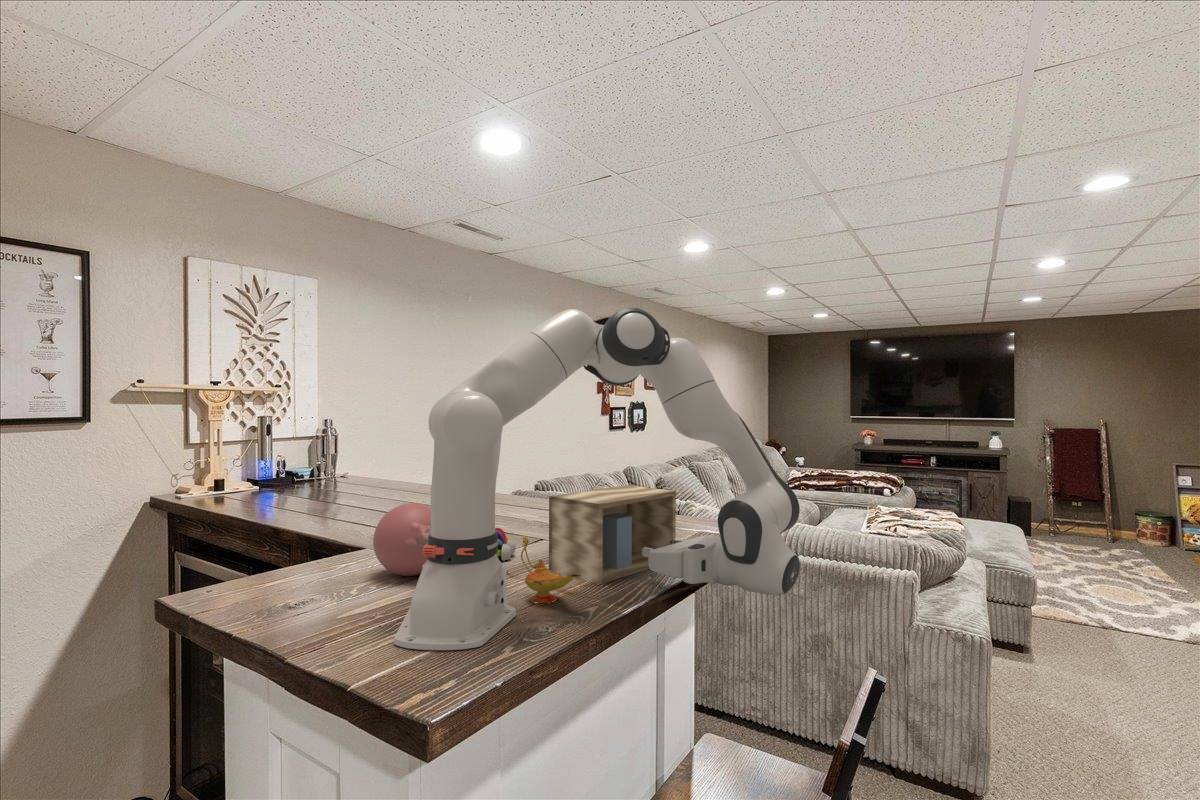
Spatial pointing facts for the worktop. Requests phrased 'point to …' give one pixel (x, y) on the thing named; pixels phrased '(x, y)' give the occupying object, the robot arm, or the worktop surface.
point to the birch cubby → (582, 528)
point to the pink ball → (403, 538)
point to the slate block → (617, 541)
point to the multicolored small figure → (504, 545)
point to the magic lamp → (543, 579)
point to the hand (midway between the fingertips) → (658, 547)
